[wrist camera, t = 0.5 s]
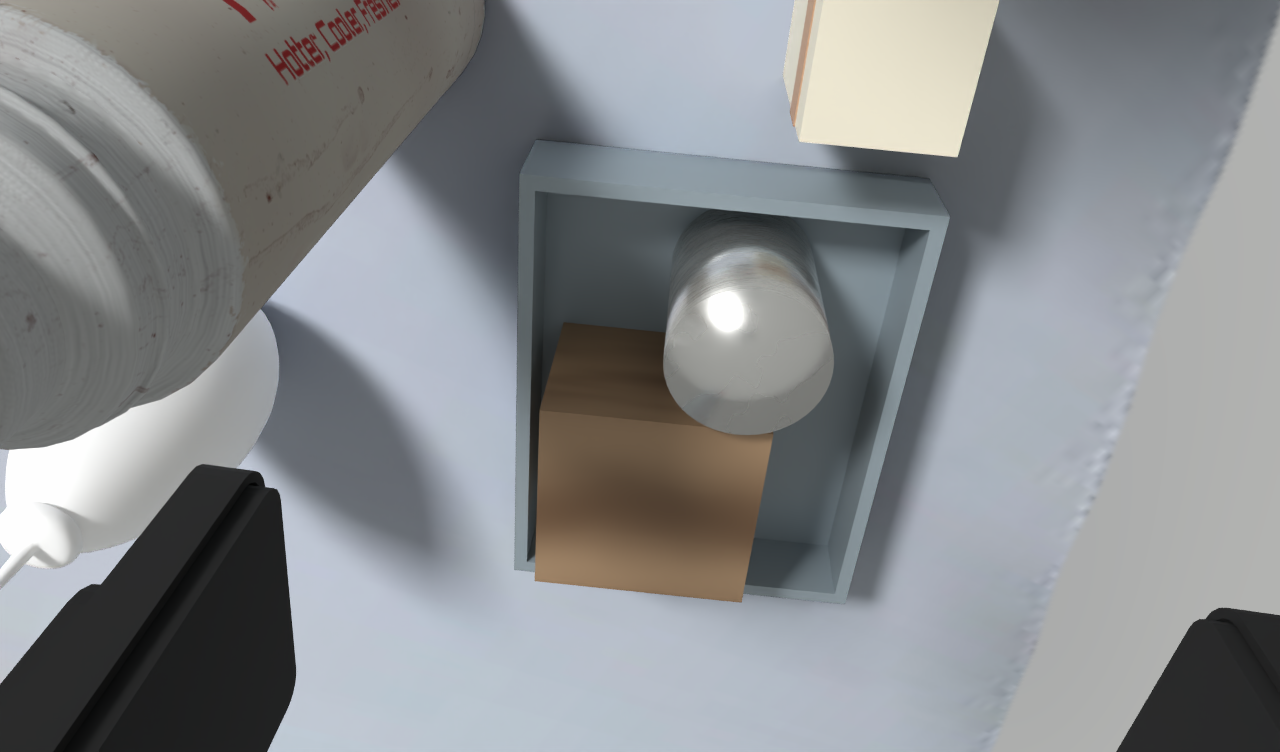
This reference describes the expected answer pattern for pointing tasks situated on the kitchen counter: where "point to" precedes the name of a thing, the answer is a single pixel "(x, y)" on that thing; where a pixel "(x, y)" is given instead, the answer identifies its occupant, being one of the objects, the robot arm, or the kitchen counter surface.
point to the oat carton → (886, 71)
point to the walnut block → (639, 476)
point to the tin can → (746, 323)
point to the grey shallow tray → (638, 299)
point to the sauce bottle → (136, 459)
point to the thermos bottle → (183, 177)
